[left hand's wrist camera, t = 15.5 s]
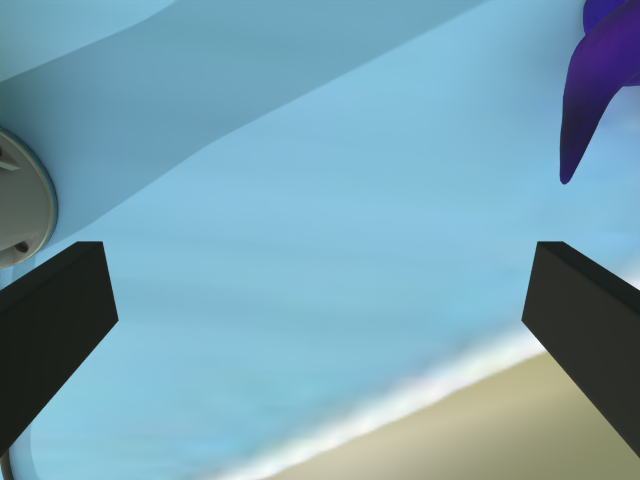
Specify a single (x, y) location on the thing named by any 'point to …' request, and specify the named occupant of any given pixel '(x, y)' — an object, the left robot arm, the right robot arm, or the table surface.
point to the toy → (598, 74)
